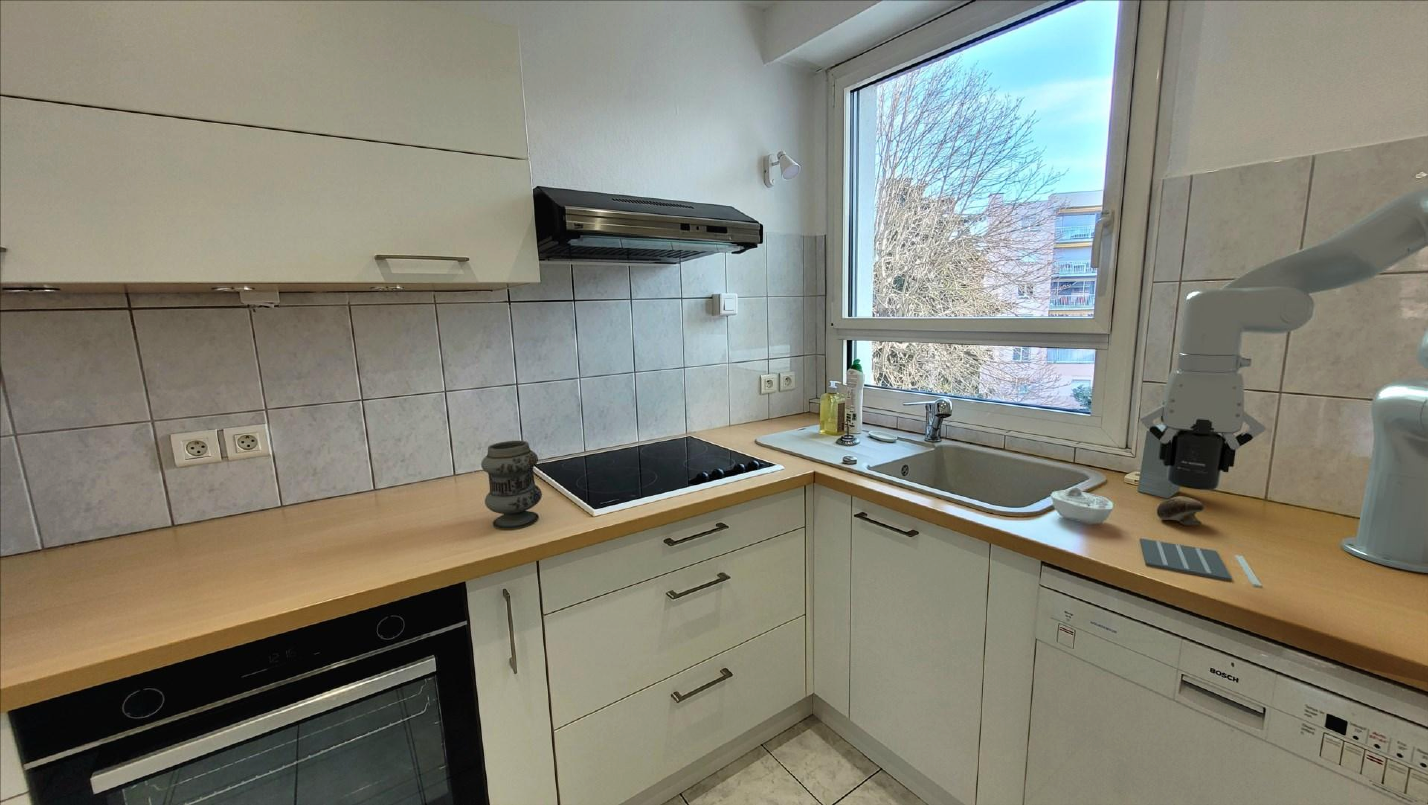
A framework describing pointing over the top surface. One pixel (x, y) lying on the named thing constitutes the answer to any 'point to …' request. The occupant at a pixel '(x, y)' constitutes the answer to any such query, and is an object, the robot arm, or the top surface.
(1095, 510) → the cell model
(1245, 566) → the strip
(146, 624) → the top surface
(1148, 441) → the skincare box
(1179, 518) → the mushroom
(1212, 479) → the supplement bottle
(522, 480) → the apothecary jar
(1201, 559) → the mat
